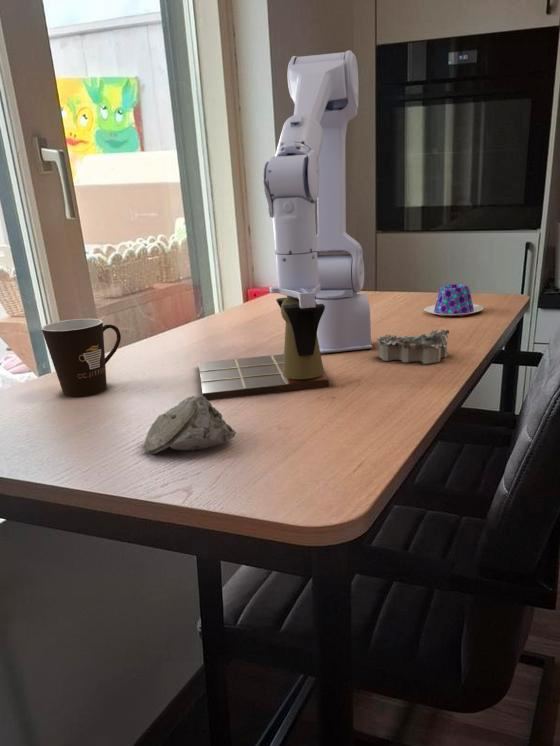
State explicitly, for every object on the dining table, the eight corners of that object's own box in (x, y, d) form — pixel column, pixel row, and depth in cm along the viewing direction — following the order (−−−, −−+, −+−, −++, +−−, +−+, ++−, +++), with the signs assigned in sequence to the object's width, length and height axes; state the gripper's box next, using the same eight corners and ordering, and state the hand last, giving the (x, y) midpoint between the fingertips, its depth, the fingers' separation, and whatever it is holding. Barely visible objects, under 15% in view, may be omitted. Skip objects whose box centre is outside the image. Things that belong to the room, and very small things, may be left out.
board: (307, 357, 117) (307, 350, 116) (328, 386, 101) (328, 379, 100) (199, 368, 114) (198, 361, 114) (203, 400, 98) (202, 392, 98)
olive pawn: (319, 379, 99) (315, 300, 94) (278, 379, 100) (272, 301, 96) (327, 367, 104) (323, 292, 100) (288, 368, 106) (282, 293, 101)
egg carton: (452, 354, 113) (453, 329, 112) (434, 366, 107) (435, 339, 106) (392, 349, 118) (392, 325, 117) (372, 360, 113) (371, 334, 111)
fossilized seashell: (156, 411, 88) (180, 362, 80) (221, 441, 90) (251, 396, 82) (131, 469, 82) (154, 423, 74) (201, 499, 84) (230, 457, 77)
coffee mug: (60, 403, 101) (45, 333, 97) (51, 389, 108) (37, 324, 104) (140, 388, 106) (129, 321, 101) (126, 376, 113) (115, 313, 108)
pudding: (440, 305, 152) (440, 280, 150) (492, 308, 145) (494, 282, 143) (413, 315, 143) (413, 289, 141) (468, 319, 137) (469, 292, 134)
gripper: (261, 249, 101) (269, 342, 107) (273, 260, 88) (282, 365, 94) (309, 245, 102) (314, 338, 108) (328, 255, 89) (333, 360, 95)
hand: (302, 350), depth 101 cm, fingers closed on olive pawn, 5 cm apart
